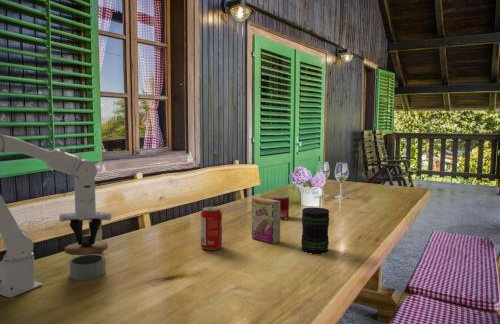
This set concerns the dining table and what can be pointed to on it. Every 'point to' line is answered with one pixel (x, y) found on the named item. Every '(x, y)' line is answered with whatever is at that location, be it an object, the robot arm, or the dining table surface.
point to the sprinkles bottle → (99, 233)
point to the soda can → (211, 228)
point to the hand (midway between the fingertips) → (86, 243)
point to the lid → (86, 247)
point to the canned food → (283, 205)
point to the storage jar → (315, 230)
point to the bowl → (87, 267)
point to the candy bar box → (266, 220)
